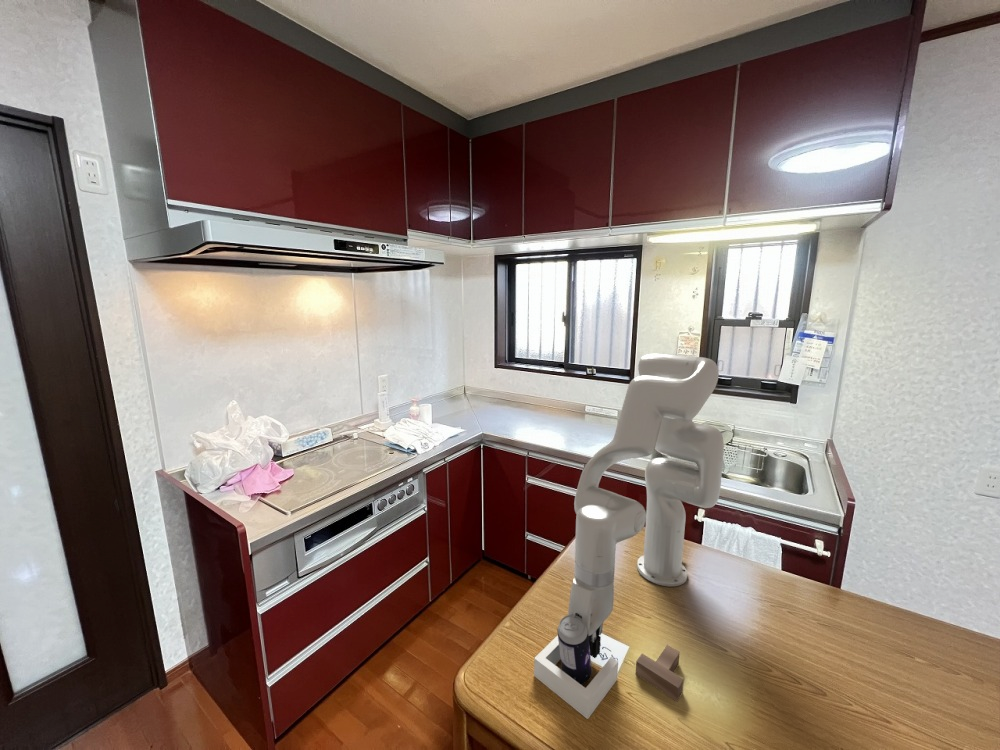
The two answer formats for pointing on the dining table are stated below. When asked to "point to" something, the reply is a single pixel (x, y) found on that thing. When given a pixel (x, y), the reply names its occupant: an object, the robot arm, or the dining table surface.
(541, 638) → the dining table surface
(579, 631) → the beverage can
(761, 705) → the dining table surface
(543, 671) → the corral
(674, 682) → the walnut T block
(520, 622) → the dining table surface
